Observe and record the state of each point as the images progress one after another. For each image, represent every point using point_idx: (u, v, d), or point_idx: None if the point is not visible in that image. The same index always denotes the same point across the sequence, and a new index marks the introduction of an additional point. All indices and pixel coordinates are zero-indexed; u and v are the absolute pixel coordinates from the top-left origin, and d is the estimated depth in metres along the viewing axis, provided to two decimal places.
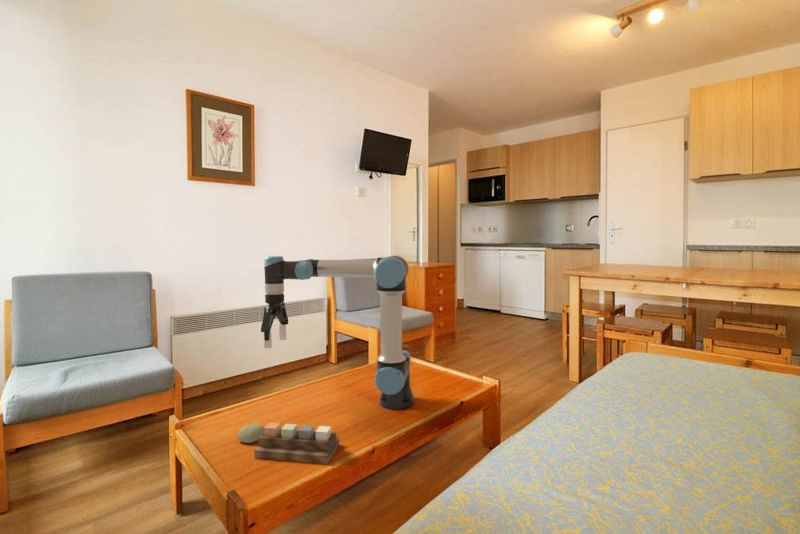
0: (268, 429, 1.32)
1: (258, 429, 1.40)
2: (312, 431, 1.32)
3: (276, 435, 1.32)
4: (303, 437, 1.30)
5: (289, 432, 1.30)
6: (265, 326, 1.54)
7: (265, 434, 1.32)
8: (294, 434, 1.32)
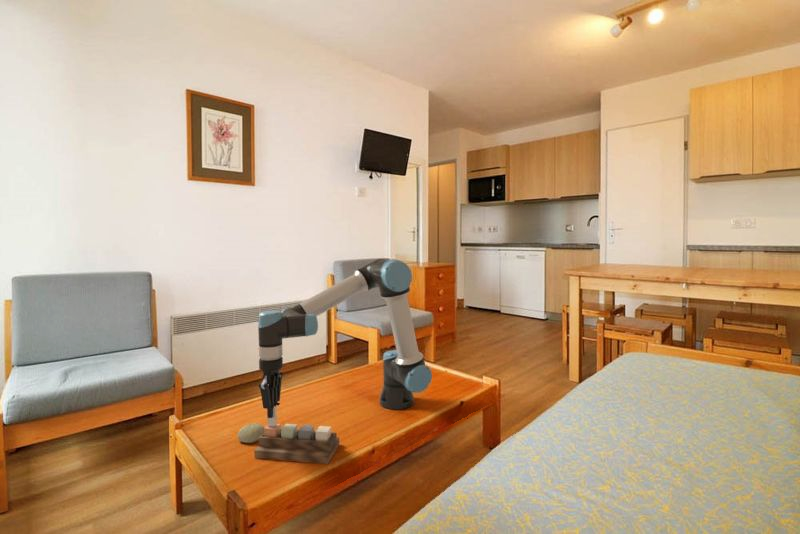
0: (268, 429, 1.32)
1: (258, 429, 1.40)
2: (312, 431, 1.32)
3: (276, 435, 1.32)
4: (303, 437, 1.30)
5: (289, 432, 1.30)
6: (267, 404, 1.29)
7: (265, 434, 1.32)
8: (294, 434, 1.32)
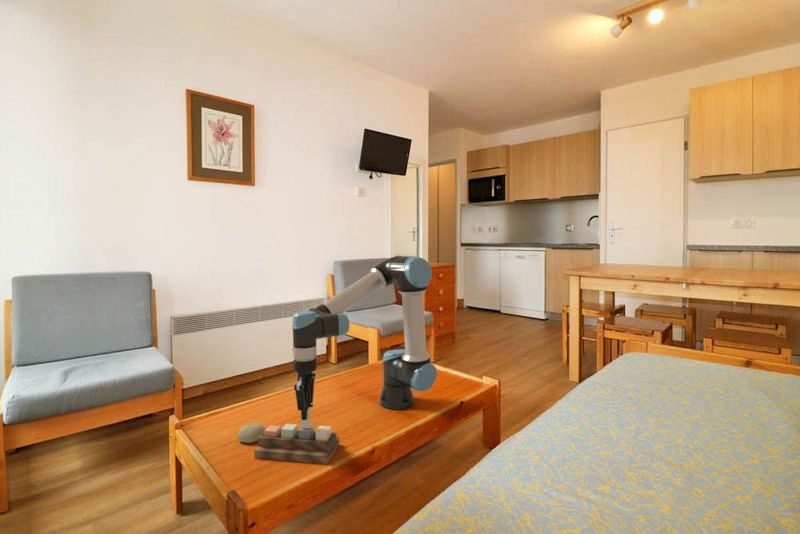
0: (268, 432, 1.32)
1: (258, 429, 1.40)
2: (312, 431, 1.32)
3: None
4: (303, 437, 1.30)
5: (289, 432, 1.30)
6: (302, 406, 1.27)
7: None
8: (294, 434, 1.32)
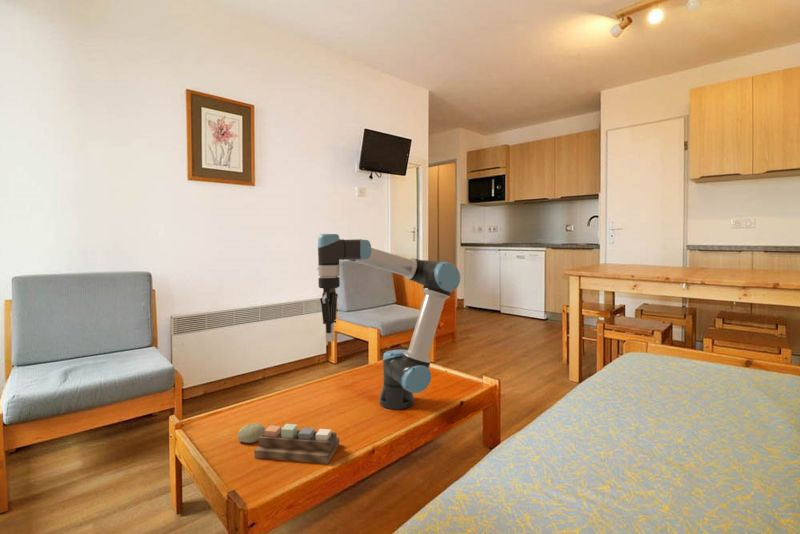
0: (268, 432, 1.32)
1: (258, 429, 1.40)
2: (312, 434, 1.32)
3: None
4: None
5: (289, 432, 1.30)
6: (327, 318, 1.39)
7: None
8: (294, 434, 1.32)
